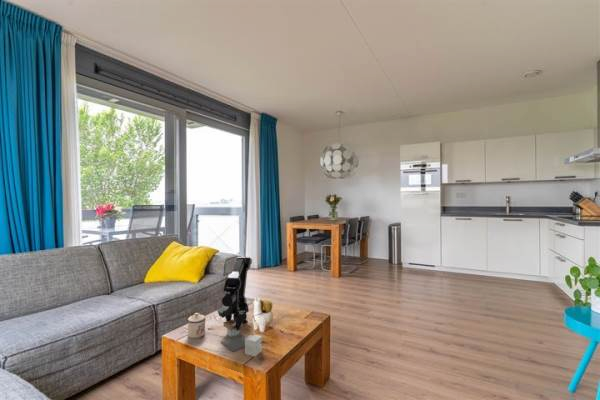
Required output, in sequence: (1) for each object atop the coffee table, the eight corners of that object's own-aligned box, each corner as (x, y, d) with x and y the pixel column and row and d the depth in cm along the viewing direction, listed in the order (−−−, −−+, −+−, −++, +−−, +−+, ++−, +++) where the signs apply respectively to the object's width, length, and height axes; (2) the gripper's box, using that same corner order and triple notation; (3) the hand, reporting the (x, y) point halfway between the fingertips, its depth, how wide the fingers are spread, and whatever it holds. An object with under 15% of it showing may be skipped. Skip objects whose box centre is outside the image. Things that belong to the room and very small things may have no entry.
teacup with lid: (198, 339, 154) (198, 317, 153) (183, 337, 156) (183, 315, 156) (211, 329, 165) (211, 309, 165) (198, 327, 168) (198, 307, 168)
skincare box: (255, 357, 137) (255, 341, 137) (244, 354, 140) (244, 338, 140) (262, 350, 143) (262, 335, 143) (251, 348, 145) (251, 333, 145)
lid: (235, 321, 166) (235, 316, 166) (242, 326, 161) (242, 320, 161) (223, 325, 161) (223, 320, 161) (230, 330, 155) (230, 324, 155)
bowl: (235, 329, 165) (235, 322, 165) (241, 333, 161) (241, 326, 161) (224, 333, 161) (224, 325, 161) (230, 337, 156) (230, 329, 156)
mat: (241, 335, 159) (241, 334, 159) (253, 343, 150) (253, 342, 150) (220, 342, 150) (220, 341, 150) (233, 352, 142) (233, 350, 142)
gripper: (211, 298, 162) (211, 326, 162) (228, 308, 148) (228, 338, 148) (229, 294, 169) (229, 320, 170) (247, 302, 156) (247, 331, 156)
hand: (233, 327), depth 161 cm, fingers open, 9 cm apart
